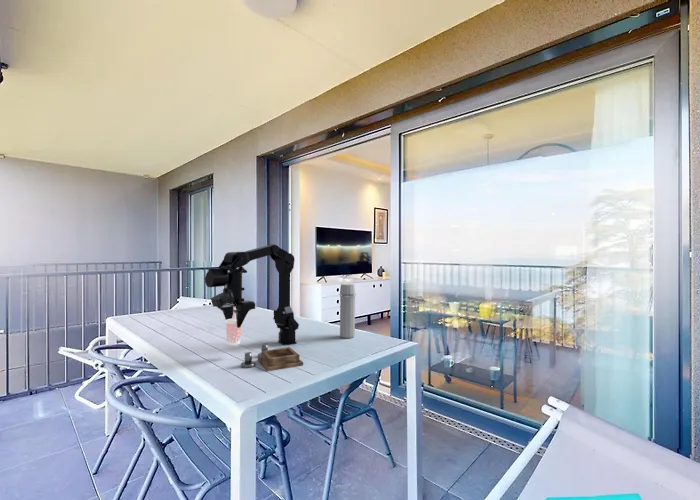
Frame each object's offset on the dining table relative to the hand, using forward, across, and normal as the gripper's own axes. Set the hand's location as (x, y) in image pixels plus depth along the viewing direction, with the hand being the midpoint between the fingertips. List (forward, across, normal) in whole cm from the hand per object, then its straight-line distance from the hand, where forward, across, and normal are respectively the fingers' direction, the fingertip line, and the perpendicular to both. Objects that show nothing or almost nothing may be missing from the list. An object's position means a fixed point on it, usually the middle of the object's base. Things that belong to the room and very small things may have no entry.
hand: (233, 326), depth 128 cm
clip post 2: (+12, +7, +9) cm, 17 cm away
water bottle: (+12, +15, +51) cm, 55 cm away
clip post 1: (+12, +11, -2) cm, 17 cm away
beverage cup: (+7, 0, 0) cm, 7 cm away
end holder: (+12, +18, +8) cm, 23 cm away
